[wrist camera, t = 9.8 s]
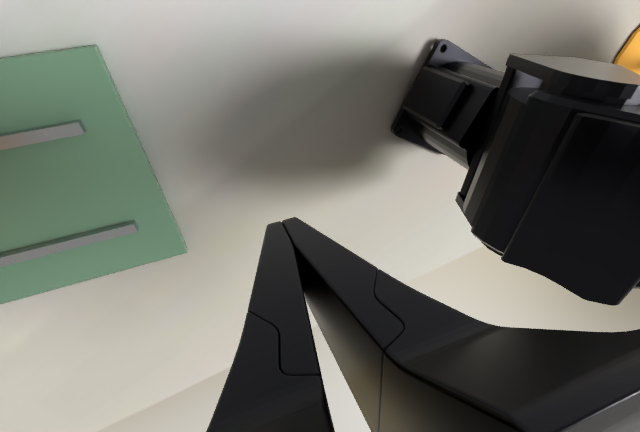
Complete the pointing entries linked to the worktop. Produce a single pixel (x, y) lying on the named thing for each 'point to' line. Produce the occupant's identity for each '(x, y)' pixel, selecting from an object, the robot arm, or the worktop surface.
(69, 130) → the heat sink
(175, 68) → the worktop surface
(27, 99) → the board
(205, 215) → the worktop surface
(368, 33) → the worktop surface
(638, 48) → the cup
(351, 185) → the worktop surface
